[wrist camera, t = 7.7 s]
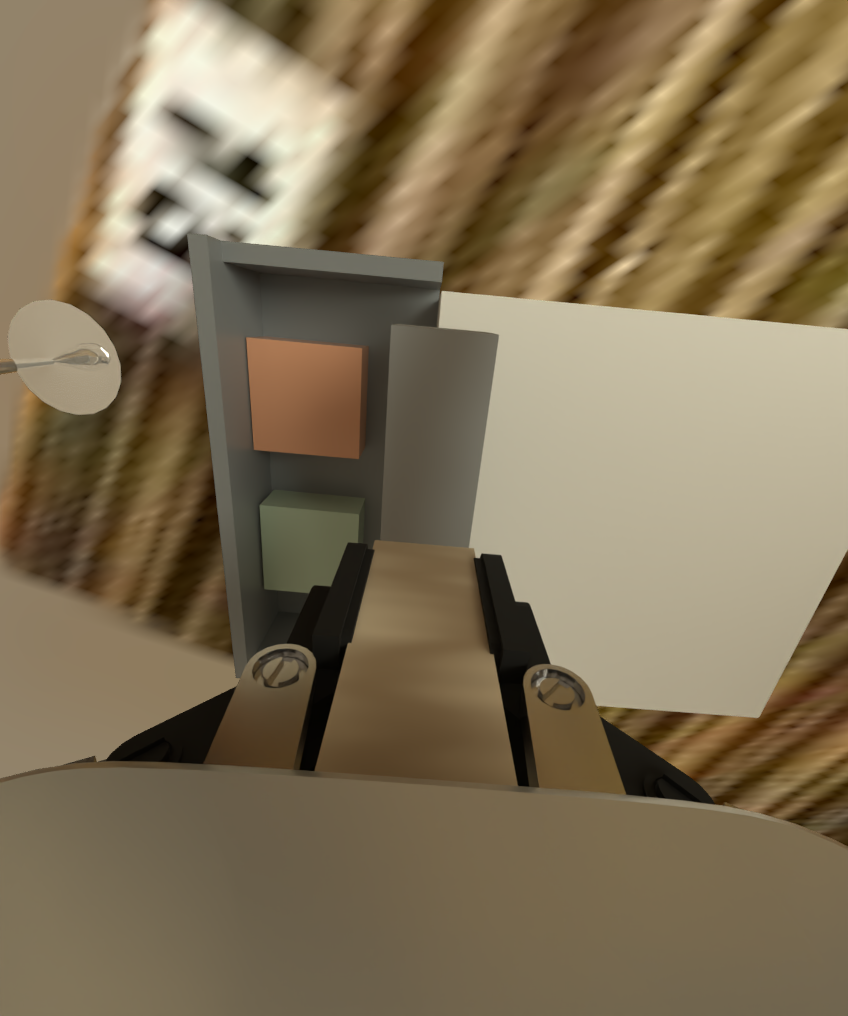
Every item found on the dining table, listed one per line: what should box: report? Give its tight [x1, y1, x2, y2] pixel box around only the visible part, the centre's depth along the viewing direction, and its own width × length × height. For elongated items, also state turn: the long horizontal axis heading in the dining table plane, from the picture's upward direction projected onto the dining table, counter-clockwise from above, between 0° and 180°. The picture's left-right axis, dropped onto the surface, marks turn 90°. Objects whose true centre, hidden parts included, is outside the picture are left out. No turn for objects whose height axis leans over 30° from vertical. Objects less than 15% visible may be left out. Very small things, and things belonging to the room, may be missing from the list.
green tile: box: [260, 490, 365, 593], centre depth 21 cm, size 4×4×2 cm
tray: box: [187, 233, 444, 678], centre depth 19 cm, size 8×18×5 cm, turn 175°
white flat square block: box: [437, 291, 848, 718], centre depth 19 cm, size 16×16×6 cm
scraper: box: [315, 324, 518, 786], centre depth 10 cm, size 3×14×10 cm, turn 175°
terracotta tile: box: [246, 336, 369, 459], centre depth 19 cm, size 4×4×2 cm
